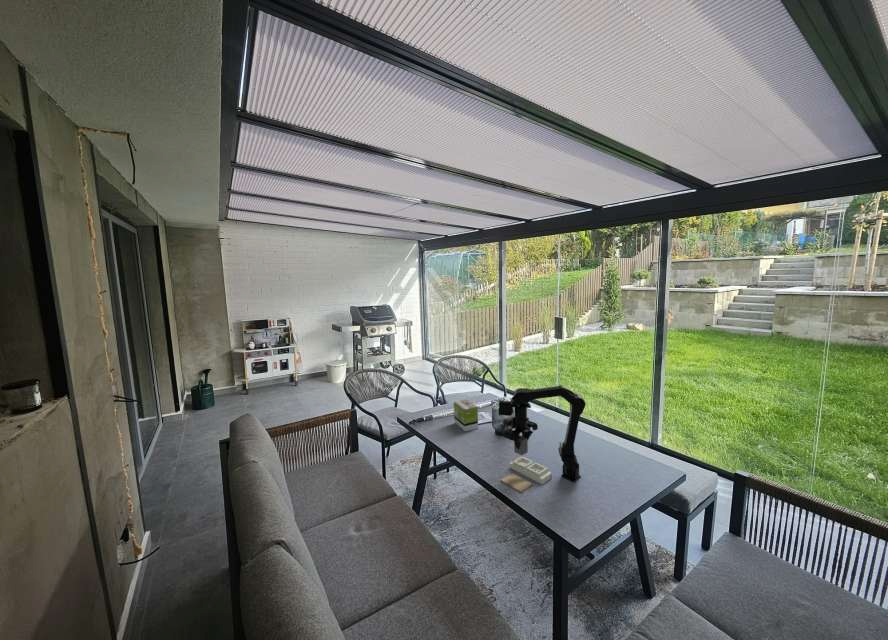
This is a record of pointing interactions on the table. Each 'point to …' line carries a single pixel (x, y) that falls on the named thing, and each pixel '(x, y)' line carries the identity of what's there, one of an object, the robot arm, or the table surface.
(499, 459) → the table surface
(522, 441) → the block
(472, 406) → the tea box
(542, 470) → the power strip
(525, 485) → the cork pad
